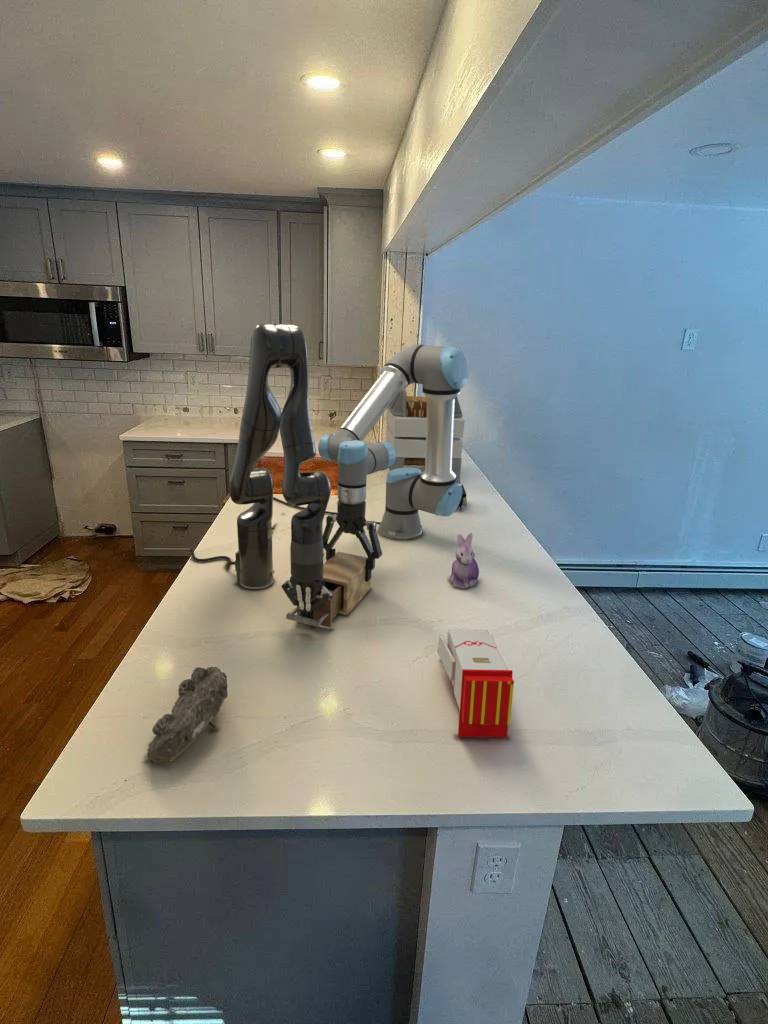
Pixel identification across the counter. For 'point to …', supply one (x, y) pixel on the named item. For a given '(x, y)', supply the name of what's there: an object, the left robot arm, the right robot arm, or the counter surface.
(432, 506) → the right robot arm
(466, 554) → the figurine
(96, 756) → the counter surface
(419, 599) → the counter surface
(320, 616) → the drawer
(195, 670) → the fossil
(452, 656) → the toy
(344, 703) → the counter surface
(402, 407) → the grey slatted crate
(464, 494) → the figurine character
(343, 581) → the cabinet
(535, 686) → the counter surface
